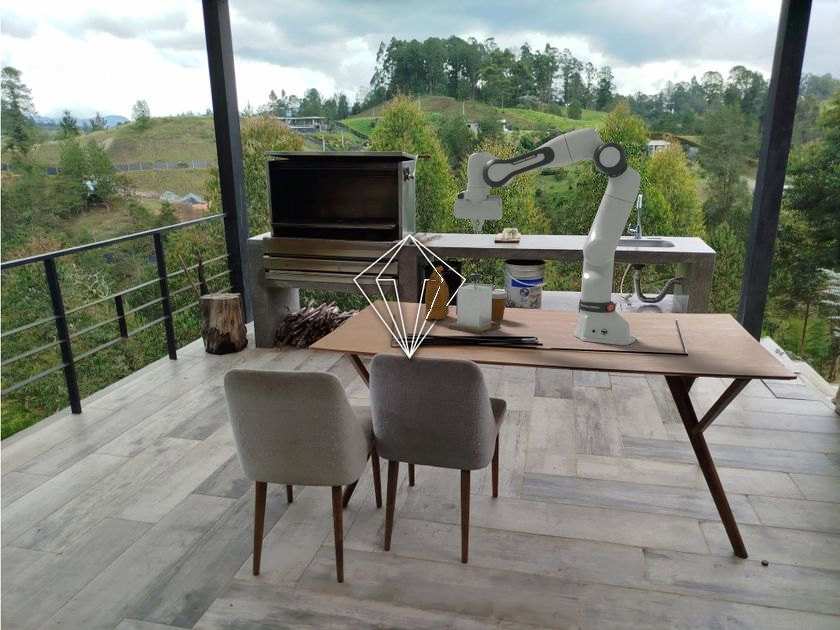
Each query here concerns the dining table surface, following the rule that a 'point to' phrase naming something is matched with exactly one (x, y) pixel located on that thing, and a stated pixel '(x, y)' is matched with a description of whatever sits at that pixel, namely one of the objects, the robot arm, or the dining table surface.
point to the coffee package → (442, 297)
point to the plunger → (475, 278)
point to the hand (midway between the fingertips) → (477, 230)
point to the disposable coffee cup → (498, 305)
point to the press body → (474, 310)
